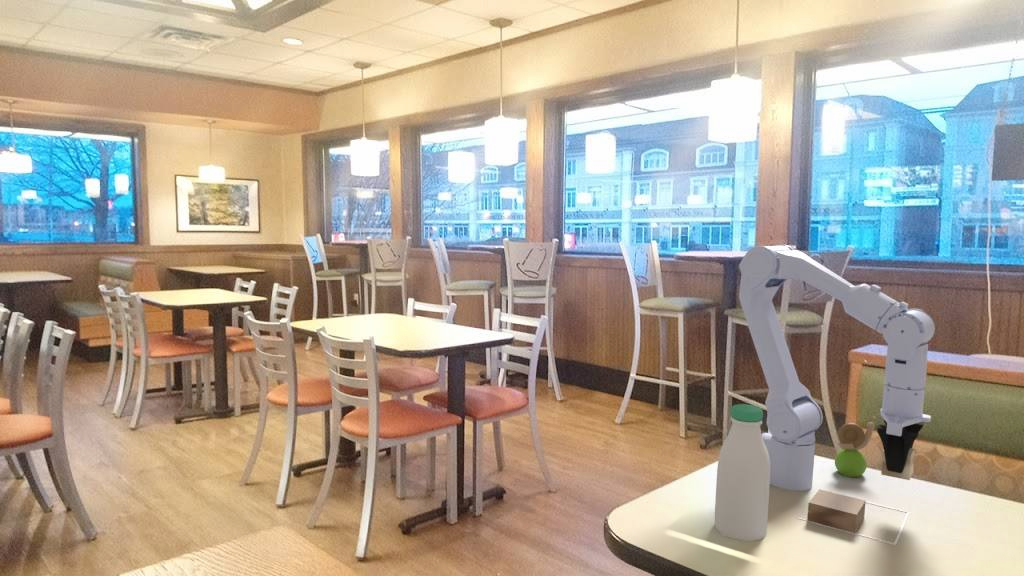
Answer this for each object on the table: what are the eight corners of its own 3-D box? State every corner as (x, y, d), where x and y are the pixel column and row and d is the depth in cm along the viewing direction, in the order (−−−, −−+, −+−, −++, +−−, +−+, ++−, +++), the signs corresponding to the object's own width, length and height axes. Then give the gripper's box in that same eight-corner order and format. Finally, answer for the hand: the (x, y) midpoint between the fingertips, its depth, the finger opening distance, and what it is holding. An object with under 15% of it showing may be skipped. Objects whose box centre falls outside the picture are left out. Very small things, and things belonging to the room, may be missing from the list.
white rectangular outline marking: (793, 522, 111) (793, 518, 111) (816, 492, 123) (816, 488, 123) (898, 551, 102) (898, 546, 102) (912, 516, 114) (913, 512, 114)
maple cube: (881, 474, 112) (882, 450, 112) (885, 467, 115) (886, 444, 115) (909, 480, 110) (910, 455, 109) (913, 472, 113) (914, 448, 112)
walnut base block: (807, 520, 110) (808, 502, 110) (818, 506, 116) (819, 489, 116) (855, 533, 106) (856, 514, 106) (864, 518, 112) (865, 500, 111)
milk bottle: (776, 543, 104) (784, 414, 102) (728, 546, 103) (735, 415, 101) (750, 520, 112) (757, 399, 109) (705, 523, 110) (711, 401, 108)
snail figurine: (875, 484, 127) (880, 421, 126) (837, 480, 128) (842, 418, 127) (866, 473, 133) (871, 412, 131) (830, 470, 134) (834, 409, 132)
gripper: (927, 399, 102) (919, 487, 104) (938, 380, 114) (931, 460, 116) (874, 391, 107) (867, 475, 108) (890, 374, 118) (883, 450, 120)
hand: (897, 467), depth 112 cm, fingers closed on maple cube, 4 cm apart
